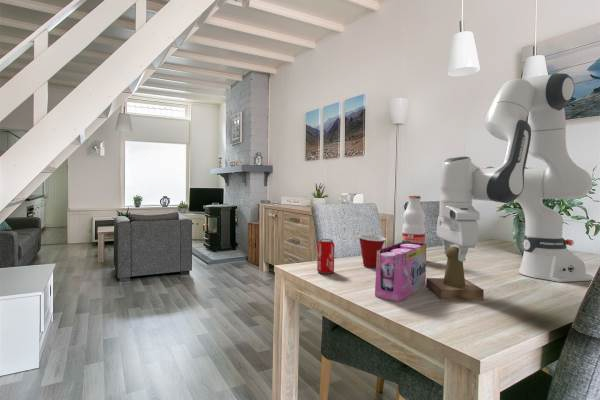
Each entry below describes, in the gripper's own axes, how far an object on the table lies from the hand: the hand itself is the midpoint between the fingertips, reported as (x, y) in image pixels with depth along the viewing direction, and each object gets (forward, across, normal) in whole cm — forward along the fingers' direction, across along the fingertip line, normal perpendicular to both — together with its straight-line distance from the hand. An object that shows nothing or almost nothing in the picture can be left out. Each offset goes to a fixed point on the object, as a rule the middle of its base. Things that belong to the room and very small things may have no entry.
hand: (454, 257), depth 104 cm
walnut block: (+11, 0, 0) cm, 11 cm away
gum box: (+11, -3, -15) cm, 19 cm away
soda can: (+11, -23, -37) cm, 45 cm away
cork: (+8, +1, 0) cm, 8 cm away
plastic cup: (+11, -34, -18) cm, 40 cm away
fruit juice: (+12, -45, +2) cm, 46 cm away
